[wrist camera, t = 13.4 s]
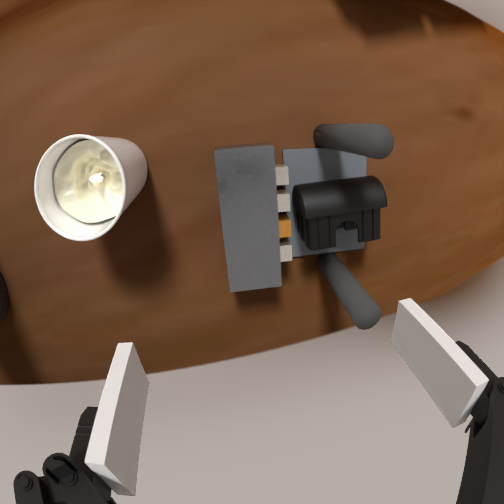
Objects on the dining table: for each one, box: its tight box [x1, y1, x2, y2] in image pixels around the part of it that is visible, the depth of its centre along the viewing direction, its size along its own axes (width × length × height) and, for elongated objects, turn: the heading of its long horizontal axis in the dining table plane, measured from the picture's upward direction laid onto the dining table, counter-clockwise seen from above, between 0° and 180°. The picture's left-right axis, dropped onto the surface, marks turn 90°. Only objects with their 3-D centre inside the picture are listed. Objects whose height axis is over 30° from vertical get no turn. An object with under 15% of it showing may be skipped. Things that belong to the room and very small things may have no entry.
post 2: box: [317, 252, 381, 329], centre depth 36 cm, size 3×3×14 cm
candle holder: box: [34, 134, 148, 241], centre depth 29 cm, size 10×10×12 cm
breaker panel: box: [214, 143, 292, 292], centre depth 35 cm, size 8×16×6 cm, turn 5°
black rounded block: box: [292, 176, 387, 251], centre depth 35 cm, size 10×7×7 cm
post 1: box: [313, 124, 394, 159], centre depth 29 cm, size 3×3×14 cm
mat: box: [282, 148, 366, 257], centre depth 39 cm, size 11×14×1 cm
